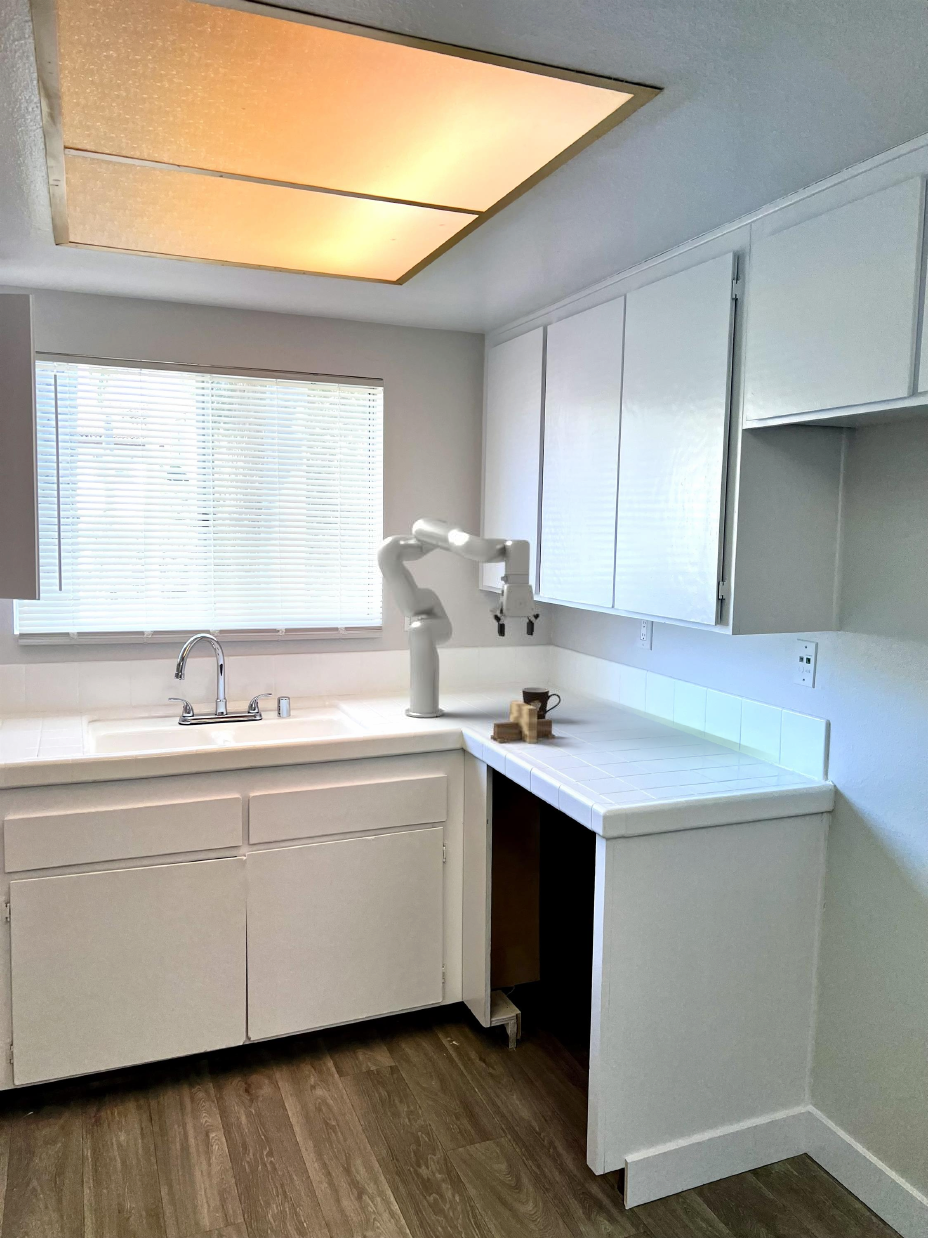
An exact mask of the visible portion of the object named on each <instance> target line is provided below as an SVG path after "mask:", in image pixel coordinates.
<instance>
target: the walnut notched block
mask: <svg viewBox="0 0 928 1238" xmlns="http://www.w3.org/2000/svg"><path fill="white" fill-rule="evenodd" d="M543 738H544V739H548V740H550V739H555V738H556V735H555V734H554V733H553V720H552V719H550V718H545V719H539V720H537V739H543ZM492 739H493V740H492ZM490 740H492V741H494V742H496V743H498V744H506V742H508V740H510V741H519V740H521V741H522V732H521V731H519V723H518V722H516V721H514V722H510V721H503V722H502V721H501V722H493V733H492V735H491V734H490Z"/></svg>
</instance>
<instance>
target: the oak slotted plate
mask: <svg viewBox="0 0 928 1238" xmlns="http://www.w3.org/2000/svg"><path fill="white" fill-rule="evenodd" d="M509 708H510V710H509V722H514V721H516V722H518V723H519V731H521V732H522V740H521V741H523V742H525V743H527V744H536V743H537V739H538V738H537V708H535V707H533V706H530V705H528V704H525V703H523V702H522V701H519V700H510V703H509Z"/></svg>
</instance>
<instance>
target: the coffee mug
mask: <svg viewBox="0 0 928 1238" xmlns="http://www.w3.org/2000/svg"><path fill="white" fill-rule="evenodd" d="M521 690H522V701H523V702H522V703H525V704H528V705H530V706H533V707H535V708H537V720H539V719H546V717H547V713H548V712H550V711H552V710H554V709H556V708H557V707H558V706H559V705H560V703H561V701H562V698H561V696H560V695H559V694H558V693H551V694H550V689H549V688H545V687H539V686H538V687H536V686H535V687H534V686H533V687H523V688H522V689H521ZM553 696H555V697H557V698H558V702H557V703H556V704H555V705H553V706H552V707H551V708H548V703H549V702H548V701H550V698H552V697H553Z"/></svg>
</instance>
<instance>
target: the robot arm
mask: <svg viewBox="0 0 928 1238" xmlns="http://www.w3.org/2000/svg"><path fill="white" fill-rule="evenodd" d="M530 548H531V544H530V542H529V540H526V539H505V538H495V537H494V538H492V537H491V538H489V537H488V538H485V537H480V536H477V535H473V534H469V533H466V532H465V530H464V529H463V527H461V526H459V525H455V524H452V523H448V522H447V521H446V520H445V519H442V518H439V517H438V518H437V517H435V518H434V517H423V518H419V519H418V520H417V521H416V522H415V523H414V524H413V526H412V534H411V535H409V534H408V535H407V534H406V535H404V534H403V535H401V534H399V535H390V536H389V537H386V538H385V539H384V540H383V541H382V542H381V544H380V546H379V547H378V550H377V559H376V560H377V563H378V567H379V569H380V572H381V574H382V576H383V578H384V579H385V581H386V583H387V585H388V588H389V590H390V593H391V594H392V597H393V599H394V601H395V603H396V605H397V608H398V609H399V611H400V613H401V614H402V616H403V617H406V618H418V617H419V618H418V619H416V620H414V621H413V622H412V623H411V624H410V625H409V627H408V629H407V641H408V647H409V658H410V659H409V660H410V661H409V664H410V665H409V670H410V673H409V676H410V680H409V681H410V683H409V691H410V692H409V707H408V708H406V709H405V712H404V714H405V715H406V716H409V717H414V718H436V716H437V717H440V716H442V715H444V710H443V709H442V708H440V657H439V652H438V649H437V646H440V645H444V644H446V643H448V642H449V641H450V640H451V638H452V636H453V626H452V623H451V621H450V618H449V616H448V613H447V612H446V610H445V608H444V607H445V606H444V605H443V603H442V601H441V599H440V597H439V595H438V594H437V593H436V592H435V591H433V590H432V589H431V588H428V587H419V585H418V584H417V583H416V581H415V578H414V576H413V574H412V572H411V571H410V570H409V569H408V568H407V567H406V566H405V564H404V562H411V561H413V562H414V561H418V560H420V559H423V558H425V556H427V555H430V553H432V552H434V551H435V550H436V549H440V550H443V551H446V552H450V553H452V554H454V555H457V556H458V557H461V558H464V559H467V560H471V561H474V562H478V563H482V564H493V563H494V564H497V563H498V564H499V563H504V575H503V576H501V577H500V580H501V581H502V582H503V584H502V586H501V591H500V597H499V603H498V604H496V605H494V606H492V607H491V608H490V609H489V612H490V614H491V616H492V619H494V621H496V623H497V634H498V636H499V637H506V623H505V621H506V620H507V618H515V619H516V618H526V619H527V622H526V635H527V636H531V637H533V636H534V632H535V623H537V620H538V619H539V618H540V616H541V613H542V611H543V608H542V607H541V606H539V605H537V604H536V603H535V598H534V597H535V596H534V591H533V590H534V589H533V586H532V584H530V561H531V560H530V559H531V558H530V555H531V549H530ZM501 581H500V582H501ZM497 611H499V615H498V612H497Z"/></svg>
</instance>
